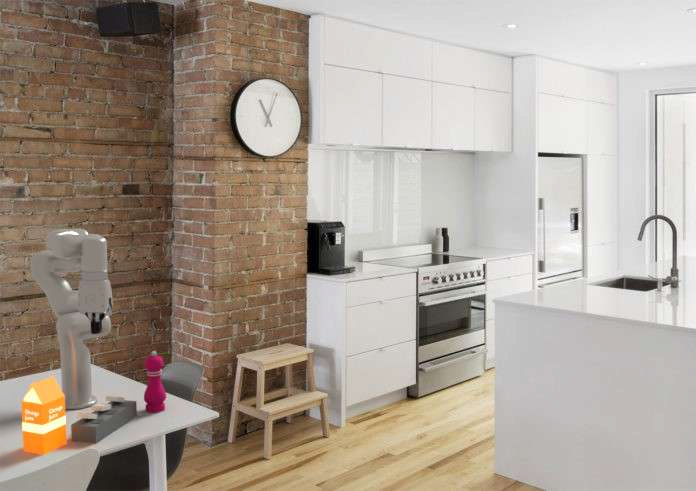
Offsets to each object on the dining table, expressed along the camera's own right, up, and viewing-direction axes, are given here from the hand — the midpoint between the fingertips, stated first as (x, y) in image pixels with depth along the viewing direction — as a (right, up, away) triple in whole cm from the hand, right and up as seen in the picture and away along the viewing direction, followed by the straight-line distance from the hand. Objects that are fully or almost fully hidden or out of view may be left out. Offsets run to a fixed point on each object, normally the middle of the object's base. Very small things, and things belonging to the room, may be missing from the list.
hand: (96, 332), depth 224 cm
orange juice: (-8, -31, -20) cm, 38 cm away
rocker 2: (+3, -23, -5) cm, 24 cm away
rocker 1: (+2, -24, -13) cm, 27 cm away
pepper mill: (+15, -27, +12) cm, 34 cm away
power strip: (+5, -29, -2) cm, 29 cm away
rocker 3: (+5, -22, +3) cm, 23 cm away
